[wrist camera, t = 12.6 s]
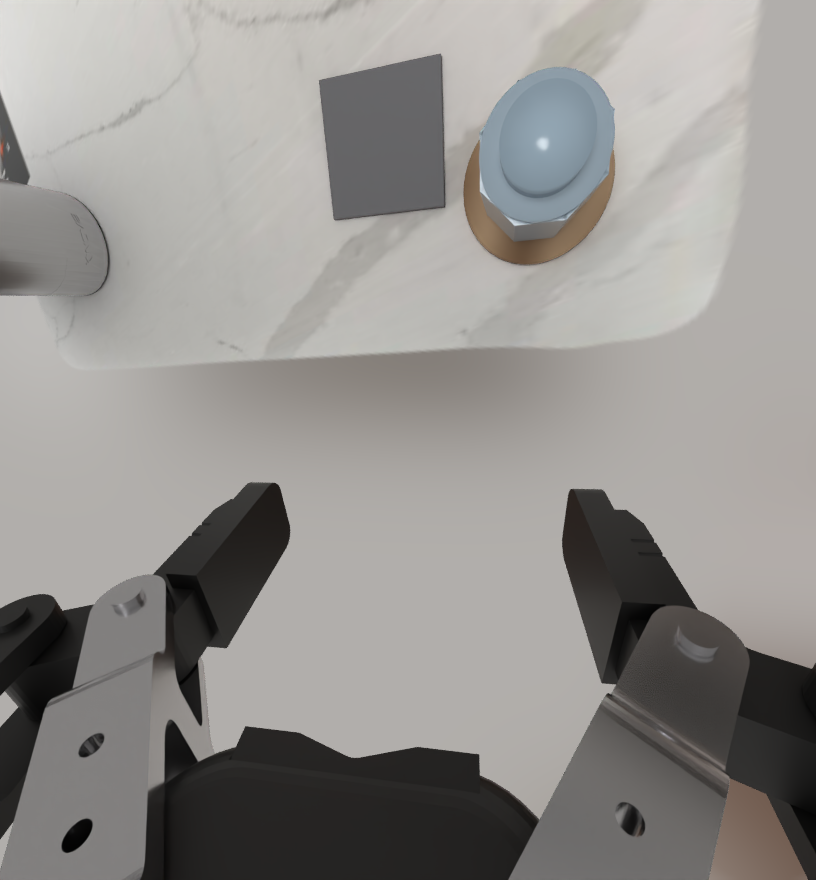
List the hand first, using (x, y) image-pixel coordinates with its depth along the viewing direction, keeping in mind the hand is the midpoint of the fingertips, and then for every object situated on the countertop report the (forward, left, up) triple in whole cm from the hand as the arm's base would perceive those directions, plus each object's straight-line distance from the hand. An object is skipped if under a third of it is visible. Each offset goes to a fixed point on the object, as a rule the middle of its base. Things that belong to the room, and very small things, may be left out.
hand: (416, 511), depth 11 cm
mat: (-7, +17, -24) cm, 30 cm away
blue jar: (+4, +13, -24) cm, 27 cm away
